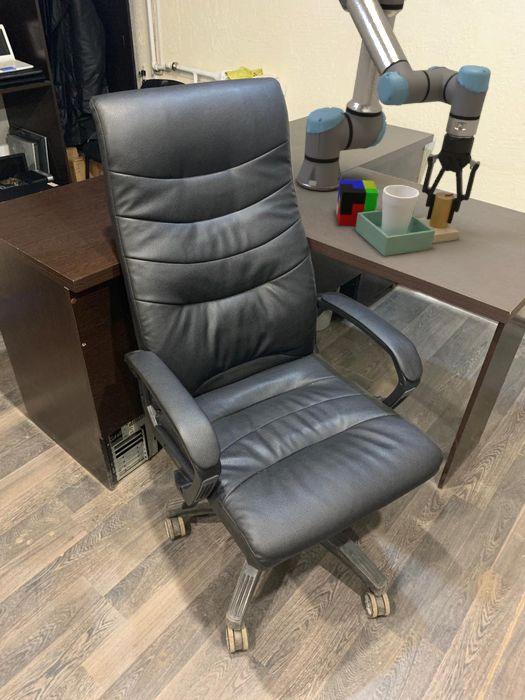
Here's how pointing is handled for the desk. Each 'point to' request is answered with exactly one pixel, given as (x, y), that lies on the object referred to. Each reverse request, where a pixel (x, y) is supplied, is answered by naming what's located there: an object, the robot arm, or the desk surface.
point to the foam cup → (398, 208)
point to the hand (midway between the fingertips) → (439, 219)
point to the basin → (413, 240)
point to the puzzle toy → (355, 200)
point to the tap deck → (442, 232)
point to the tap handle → (441, 209)
